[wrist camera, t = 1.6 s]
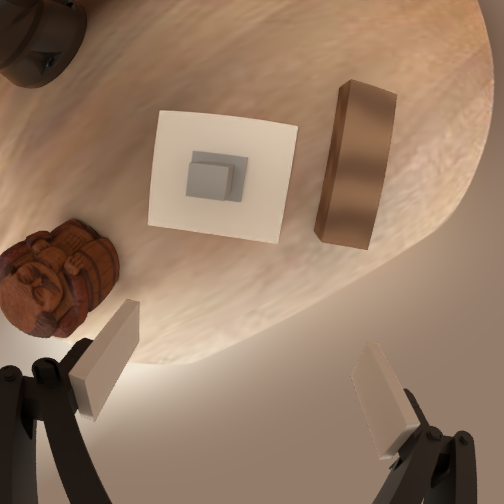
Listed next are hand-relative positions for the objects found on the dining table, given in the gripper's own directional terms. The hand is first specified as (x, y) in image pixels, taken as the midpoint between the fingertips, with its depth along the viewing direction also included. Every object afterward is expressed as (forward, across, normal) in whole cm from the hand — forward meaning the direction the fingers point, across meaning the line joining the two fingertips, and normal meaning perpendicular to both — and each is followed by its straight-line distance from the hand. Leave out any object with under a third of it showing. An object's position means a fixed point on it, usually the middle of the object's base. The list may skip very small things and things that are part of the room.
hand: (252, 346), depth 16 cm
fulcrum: (+22, -6, +7) cm, 23 cm away
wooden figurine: (+22, -22, -6) cm, 32 cm away
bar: (+22, +9, +12) cm, 26 cm away
